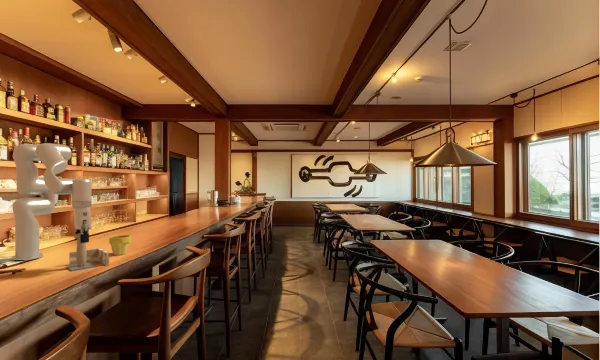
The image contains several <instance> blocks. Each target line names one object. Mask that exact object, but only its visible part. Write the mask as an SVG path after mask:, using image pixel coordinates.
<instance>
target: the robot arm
mask: <svg viewBox="0 0 600 360" xmlns="http://www.w3.org/2000/svg"><path fill="white" fill-rule="evenodd" d="M12 153H13V154H12V157H13V161H14V164H15V169H16V191H17V193H18V195H20V196H40V197H24V198H23V197H22V198H18V199H16V200H15V201H13V203H12V212H13V216H14V217H13V218H14V233H15V235H14V236H15V237H14V243H15V244H14V247H15V248H14V251H15V252H14V253H15V254H14V256H12V257H10V261H12V260H24V261H30V260H36V259H40V258H42V257H43V256H44V254H43V253H40V223H39V221H38V220H37V218H36V217H35V216H42V215H43V216H44V215H50V214H53V212H54V211H55V208H56V195H71V209H74V214H73V215H74V216H73V217H74V218H73V221H74V222H73V223H74V228H75V232H74V234H78V233H81V234H80V243H86V244H87V243H90V231H89V230H91V229H92V214H91V208H92V202H93V201H92V194H93V193H92V184H93V183H92V180H91V179H90V178H89V179H88V178H67V177H62V178H61V177H60V178H58V177H57V176H56V175H59V174H61V173H63V172H64V171H66V170H67V168H68V166H69V164H68V162H67V161H69V160H70V159H71V158H72V154H73V153H72V150H71V148H70V147H69V146H68V145H65V144H60V143H59V144H58V143H50V142H45V143H41V144H40V143H39V144H31V143H21V144H18V145H17V146H15V147H14V149H13V152H12ZM35 162H41V163H42V164H43V165H44V167H45V168H46V169H45V170H44V173H43V177H42V176H41V177H39V168H38V166H37V165H36V164H35ZM74 240H75V241H77V239H76V238H74Z"/></svg>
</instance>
